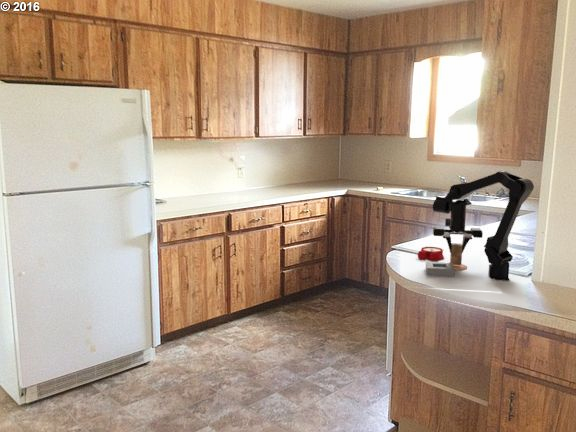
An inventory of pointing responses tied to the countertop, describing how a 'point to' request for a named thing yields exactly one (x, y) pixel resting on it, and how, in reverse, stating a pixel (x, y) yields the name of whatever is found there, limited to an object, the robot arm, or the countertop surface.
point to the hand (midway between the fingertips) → (456, 252)
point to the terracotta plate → (459, 267)
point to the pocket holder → (439, 269)
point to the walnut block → (456, 254)
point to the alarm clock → (431, 253)
